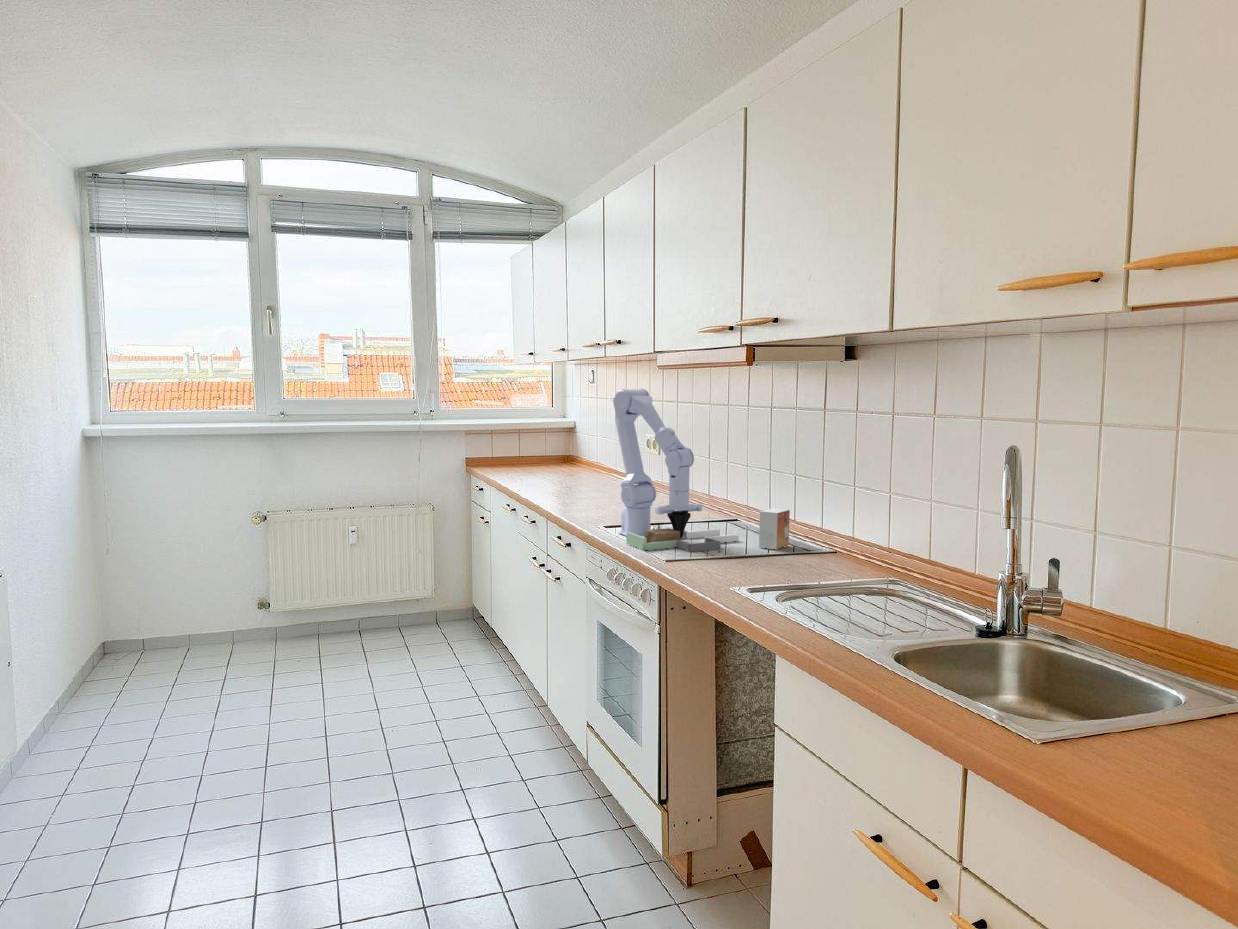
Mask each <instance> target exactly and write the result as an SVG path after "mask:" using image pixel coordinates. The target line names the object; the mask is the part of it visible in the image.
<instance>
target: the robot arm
mask: <svg viewBox="0 0 1238 929" xmlns="http://www.w3.org/2000/svg"><path fill="white" fill-rule="evenodd" d="M612 402H613V408H614V412H615V413H614V414H615V415H614V416H615V417H614V419H615V420H614V422H615V426H616V431H617V436H618V441H619V442H618V443H619V446H620V451H621V456H622V461H623V466H624V471H625V477H624V479H623V480H622V481H621V483H620V487H621V490H620V492H621V493H620V498H621V501H622V503H623V504H624V507H623V508H622V511H621V526H620V528H621V531H618V534H619V535H622V534H623V535H622V536H625V537H627V532H630V533H633V534H636V535H639V536H645V530H651V507H653V503H654V502H655V500H656V498H657V491H656V488H655V486H654V485H653V482H652V478H651V477H650V476H649V475H648V474H646V472H645V470H644V465H643V461H642V455H641V450H640V444H639V440H638V435H637V431H636V426H635V421H636V420H637V418H639V417H640V416H641V417H642V418H643V420H645V422H646V423H647V425H648V426H649V427H650V428H651V431H653V432H654V434H655V435H654V441H655V442H656V444H657V445H658V447H659V448H660V450H661V452H662V453H663V454H664V455H665V458H664V462H665V465H666V467H667V473H668V476H669V478H668V479H669V480H668V481H669V482H668V487H669V488H668V490H669V491H668V492H669V493H668V504H667V505H660V506H655V514H656V515H664V514H666V516H667V517H668V519H669V521H670V523H671V526H672V529H673V530H677V531H680V538H682V537H683V533H684V531H685V528H686V526H687V524H688V521H689V520H690V518H691V514H692V513H690V512H702V511H703V504H700V503H690V474H691V473H690V468H691V467H692V466H693V464H694V461H695V456H694V453H693V451H692V449H691V448H689V447H686V446H685V445H684V444H683V443H682V442H681V440H680V439H679V437H678V436H677V435H676V431H675V430H674V429H672V428H671V427H666V426H665V424H664V422H663V421H662V419H661V417H660V415H659V413H658V412H657V410H656V407H655V406H654V405H653V397H652V396H651V395H650V393H649V391H648V390H647V389H644V388H639V389H637V388H636V389H628V388H627V389H626V388H625V389H624V388H621V389H618V390H617V392H616V394H615V395H614V397H613V398H612Z"/></svg>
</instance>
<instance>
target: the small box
mask: <svg viewBox="0 0 1238 929" xmlns="http://www.w3.org/2000/svg"><path fill="white" fill-rule="evenodd" d="M790 517H791V516H790V509H783V508H774V507H772V508H768V509H766V510H760V511H759V523H758V524H759V527H758V528H759V530H758V532H759V533H758V534H759V535H758V548H759V547H760V548H759V549H765V548H767V550H773V549H775V551H777V550H780V549H782V548H781V547H784V546H788V545H790V544H789V541H790V539H789V538H790ZM788 547H789V546H788ZM779 548H780V549H779ZM784 548H785V547H784Z"/></svg>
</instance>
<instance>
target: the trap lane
mask: <svg viewBox="0 0 1238 929" xmlns="http://www.w3.org/2000/svg"><path fill="white" fill-rule="evenodd" d="M720 533H721V530H720V528H717V529H716V528H715V529H714V528H713V529H706V530H694V531H693V530H692V531H687V530H684V533H683V537H682V538H680V541H679V540H673V541H663V542H652V543H647V538H645V536H639V535H636V534H633V533H630V532H627V536H626V545H627V544H629V545H631V546H630V547H632V546H635V547H638V548H640V549H642V550H641V551H643V550H649V551H654V550H653V549H658V550H666V549H665V548H668V549H675V548H674V547H678V548H677V549H679V548H680V549H679V550H683V551H686V552H689V553H691V552H692V553H693V552H700V551H710V550H718V549H719V550H720V549H721V544H723V543H724V542H727V543H734V541H736V542H739V533H738V534H737V533H736V534H726V535H720ZM699 538H700V539H702V538H703V539H704V540H703V542H698V543H697V542H695V543H687V542H684V541H681V540H689V539H699ZM724 544H725V543H724ZM629 545H628V546H629ZM635 547H634V548H635ZM640 549H639V550H640Z"/></svg>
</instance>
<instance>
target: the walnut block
mask: <svg viewBox="0 0 1238 929" xmlns="http://www.w3.org/2000/svg"><path fill="white" fill-rule="evenodd" d="M645 538H647V543H652V542H663V541H673V540H679V541H681V540H680V531H677V530H673V528H669V527H666V528H656V529H650V530H645Z"/></svg>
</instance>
